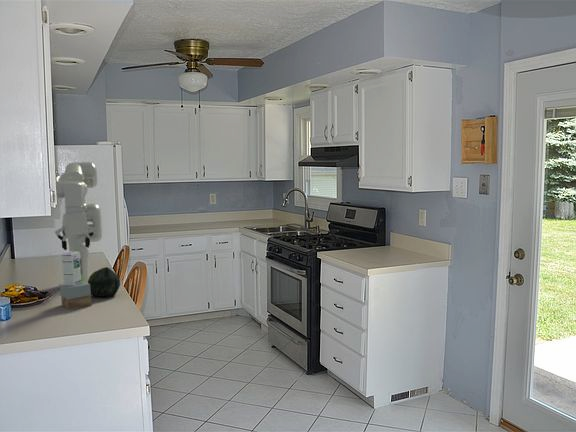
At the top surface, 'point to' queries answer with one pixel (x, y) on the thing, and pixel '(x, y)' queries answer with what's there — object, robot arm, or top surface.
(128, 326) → the top surface
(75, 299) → the bottom block
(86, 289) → the top block
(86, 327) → the top surface
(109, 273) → the squash
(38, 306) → the top surface
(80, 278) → the syrup box
